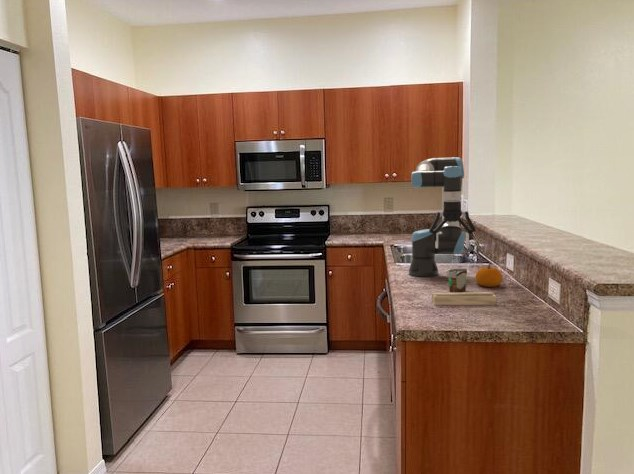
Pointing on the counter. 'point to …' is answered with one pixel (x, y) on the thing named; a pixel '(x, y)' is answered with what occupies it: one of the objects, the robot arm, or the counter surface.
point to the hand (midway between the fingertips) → (452, 247)
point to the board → (464, 298)
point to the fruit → (488, 277)
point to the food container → (457, 280)
